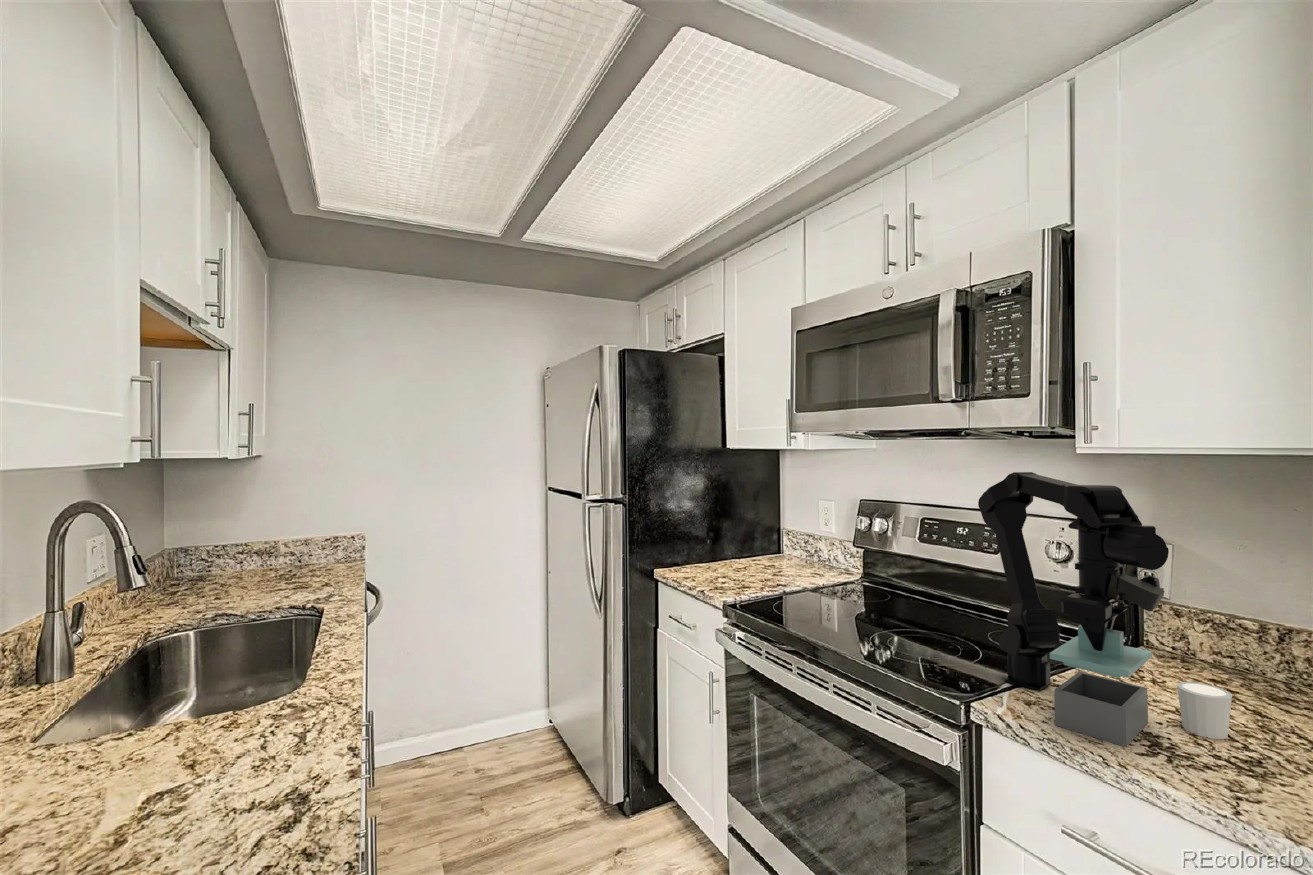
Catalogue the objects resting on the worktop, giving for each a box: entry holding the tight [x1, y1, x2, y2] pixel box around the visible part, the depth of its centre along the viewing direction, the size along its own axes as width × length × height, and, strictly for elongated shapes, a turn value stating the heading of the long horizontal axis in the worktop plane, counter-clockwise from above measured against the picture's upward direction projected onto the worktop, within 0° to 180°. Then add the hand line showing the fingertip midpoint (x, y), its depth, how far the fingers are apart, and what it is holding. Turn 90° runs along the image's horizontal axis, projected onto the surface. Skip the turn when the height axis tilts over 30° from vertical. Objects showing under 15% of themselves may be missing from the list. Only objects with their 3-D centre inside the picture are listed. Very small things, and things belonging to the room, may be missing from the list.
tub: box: [1053, 671, 1149, 748], centre depth 104 cm, size 10×13×6 cm
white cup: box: [1176, 681, 1233, 740], centre depth 101 cm, size 7×7×7 cm
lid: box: [1049, 623, 1153, 679], centre depth 104 cm, size 11×14×6 cm
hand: (1100, 648), depth 104 cm, fingers closed on lid
